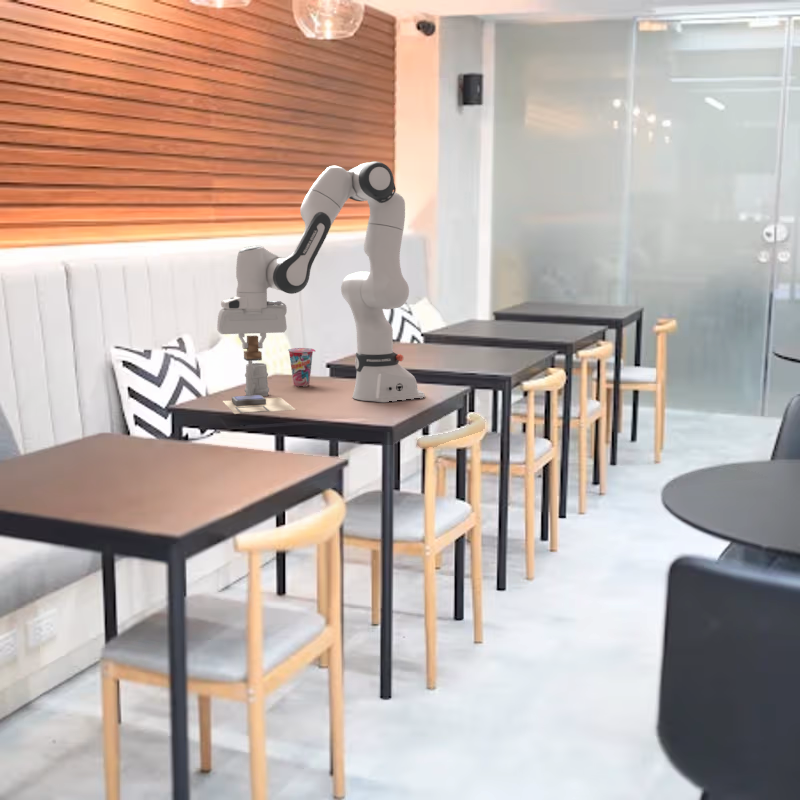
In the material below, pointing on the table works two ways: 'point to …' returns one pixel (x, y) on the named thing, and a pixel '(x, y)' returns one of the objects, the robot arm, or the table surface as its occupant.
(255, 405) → the board
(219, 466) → the table surface
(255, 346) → the stamp
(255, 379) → the mug
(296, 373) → the cup
